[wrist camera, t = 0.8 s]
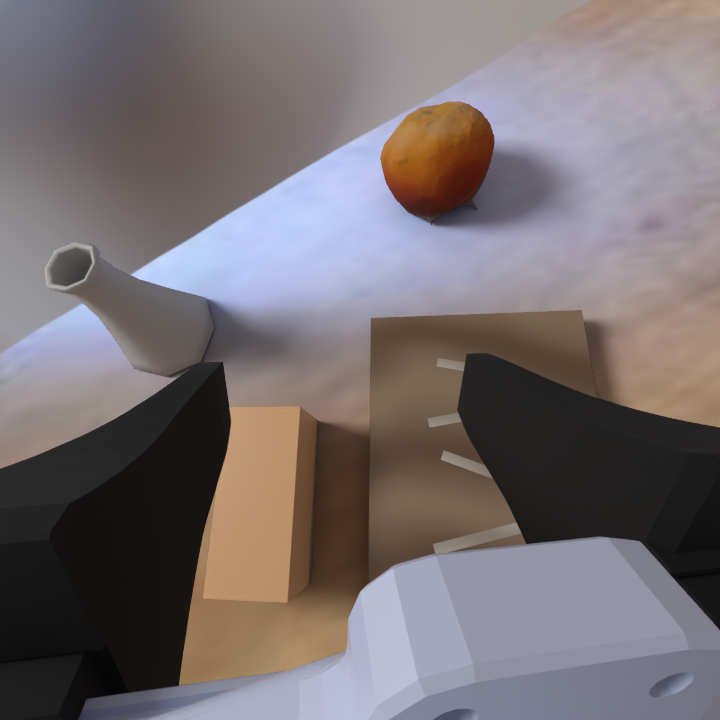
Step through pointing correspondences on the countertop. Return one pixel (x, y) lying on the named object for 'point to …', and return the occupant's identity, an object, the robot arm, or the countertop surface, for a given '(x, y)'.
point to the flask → (134, 310)
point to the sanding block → (264, 507)
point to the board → (449, 427)
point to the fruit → (438, 158)
